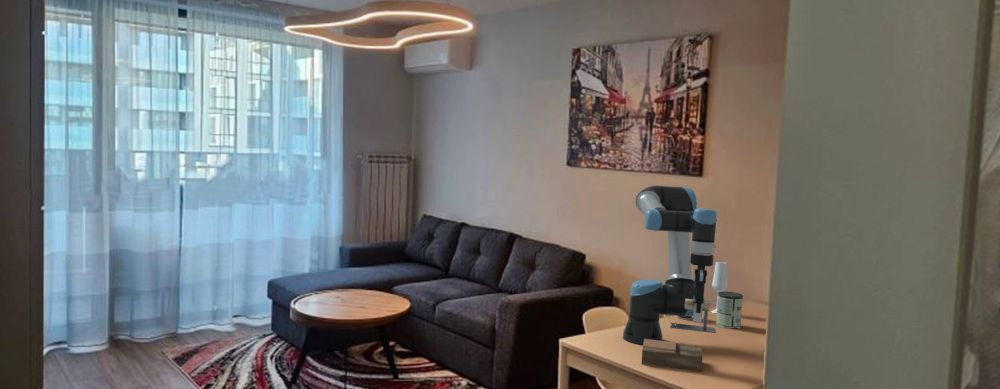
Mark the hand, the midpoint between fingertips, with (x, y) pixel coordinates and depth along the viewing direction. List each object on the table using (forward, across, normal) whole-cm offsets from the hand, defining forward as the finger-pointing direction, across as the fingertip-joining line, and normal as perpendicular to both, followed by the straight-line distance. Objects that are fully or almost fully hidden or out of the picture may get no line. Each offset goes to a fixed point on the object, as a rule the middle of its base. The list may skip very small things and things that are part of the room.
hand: (697, 320), depth 233 cm
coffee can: (+16, +65, -16) cm, 69 cm away
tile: (+10, 0, +12) cm, 16 cm away
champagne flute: (+16, +88, -13) cm, 90 cm away
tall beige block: (+3, 0, +1) cm, 3 cm away
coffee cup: (+16, +71, +2) cm, 72 cm away
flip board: (+16, 0, +8) cm, 18 cm away
